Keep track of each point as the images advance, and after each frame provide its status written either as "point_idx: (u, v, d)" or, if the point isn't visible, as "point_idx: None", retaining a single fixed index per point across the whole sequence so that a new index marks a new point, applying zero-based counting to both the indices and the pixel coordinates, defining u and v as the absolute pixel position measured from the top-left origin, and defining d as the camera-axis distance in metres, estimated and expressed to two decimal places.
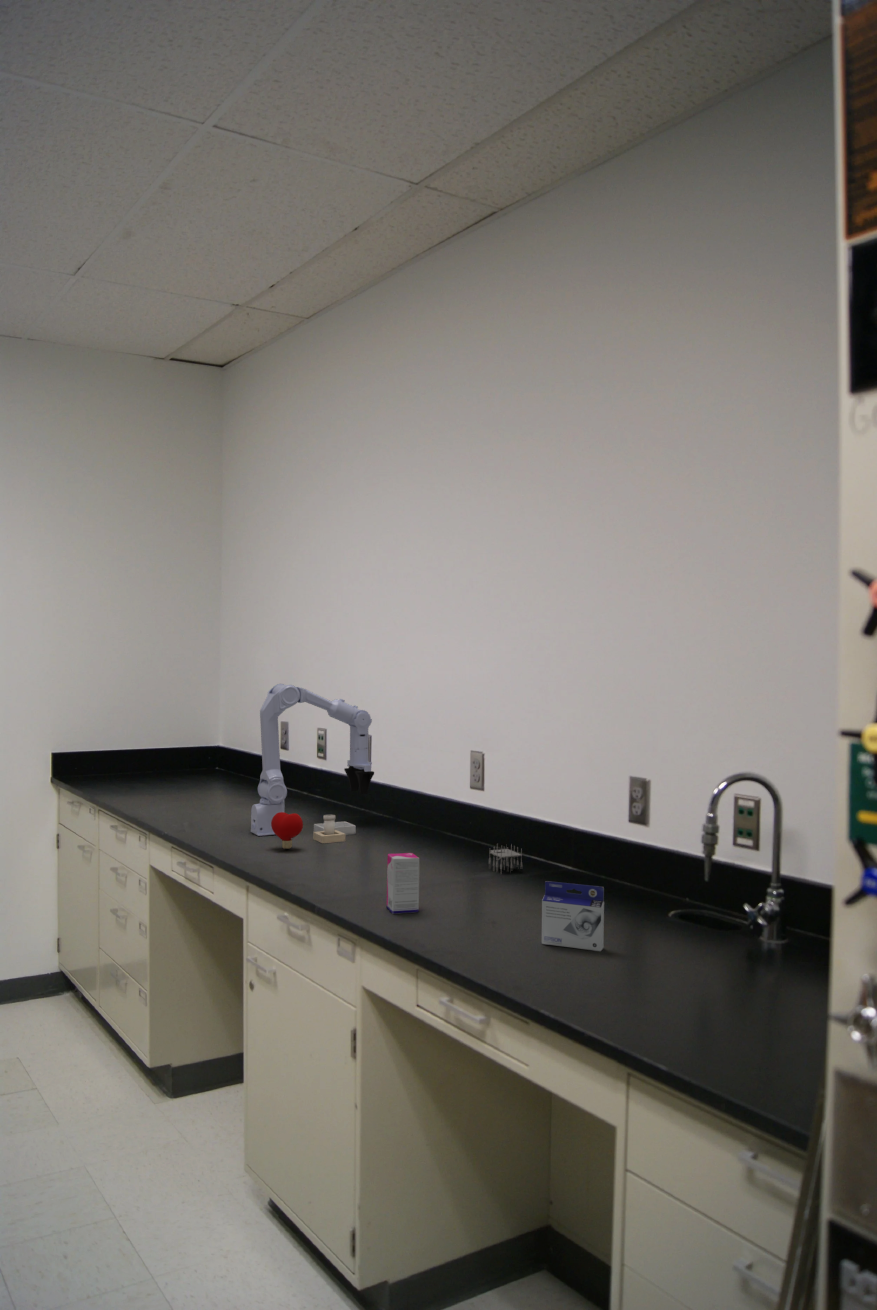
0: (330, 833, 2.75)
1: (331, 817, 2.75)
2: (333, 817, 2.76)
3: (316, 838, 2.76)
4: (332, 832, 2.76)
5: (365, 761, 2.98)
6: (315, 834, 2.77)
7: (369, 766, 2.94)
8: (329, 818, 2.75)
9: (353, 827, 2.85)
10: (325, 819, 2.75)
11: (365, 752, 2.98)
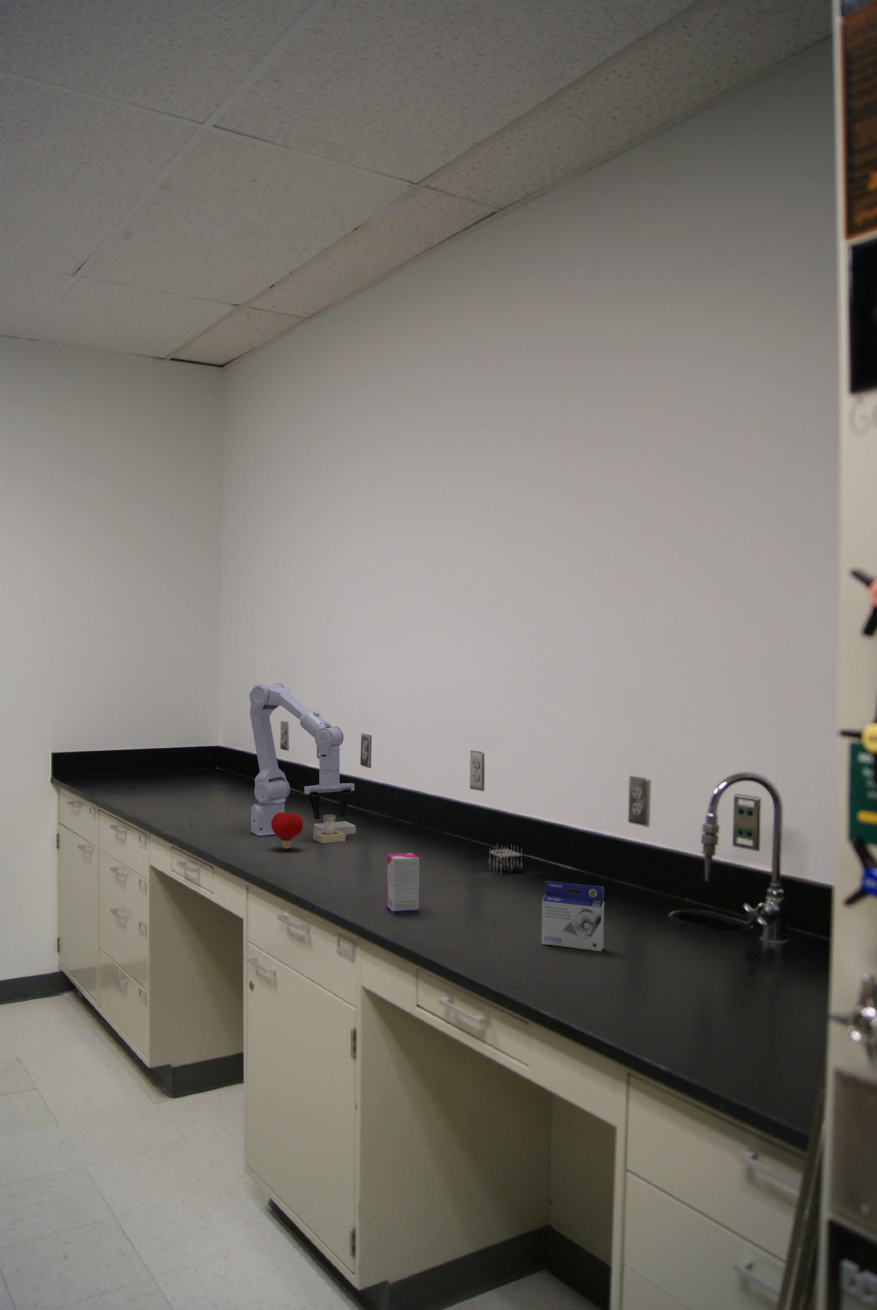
0: (330, 833, 2.75)
1: (331, 817, 2.75)
2: (333, 817, 2.76)
3: (316, 838, 2.76)
4: (332, 832, 2.76)
5: (322, 784, 2.74)
6: (315, 834, 2.77)
7: (305, 788, 2.73)
8: (329, 818, 2.75)
9: (353, 827, 2.85)
10: (325, 819, 2.75)
11: (322, 774, 2.74)
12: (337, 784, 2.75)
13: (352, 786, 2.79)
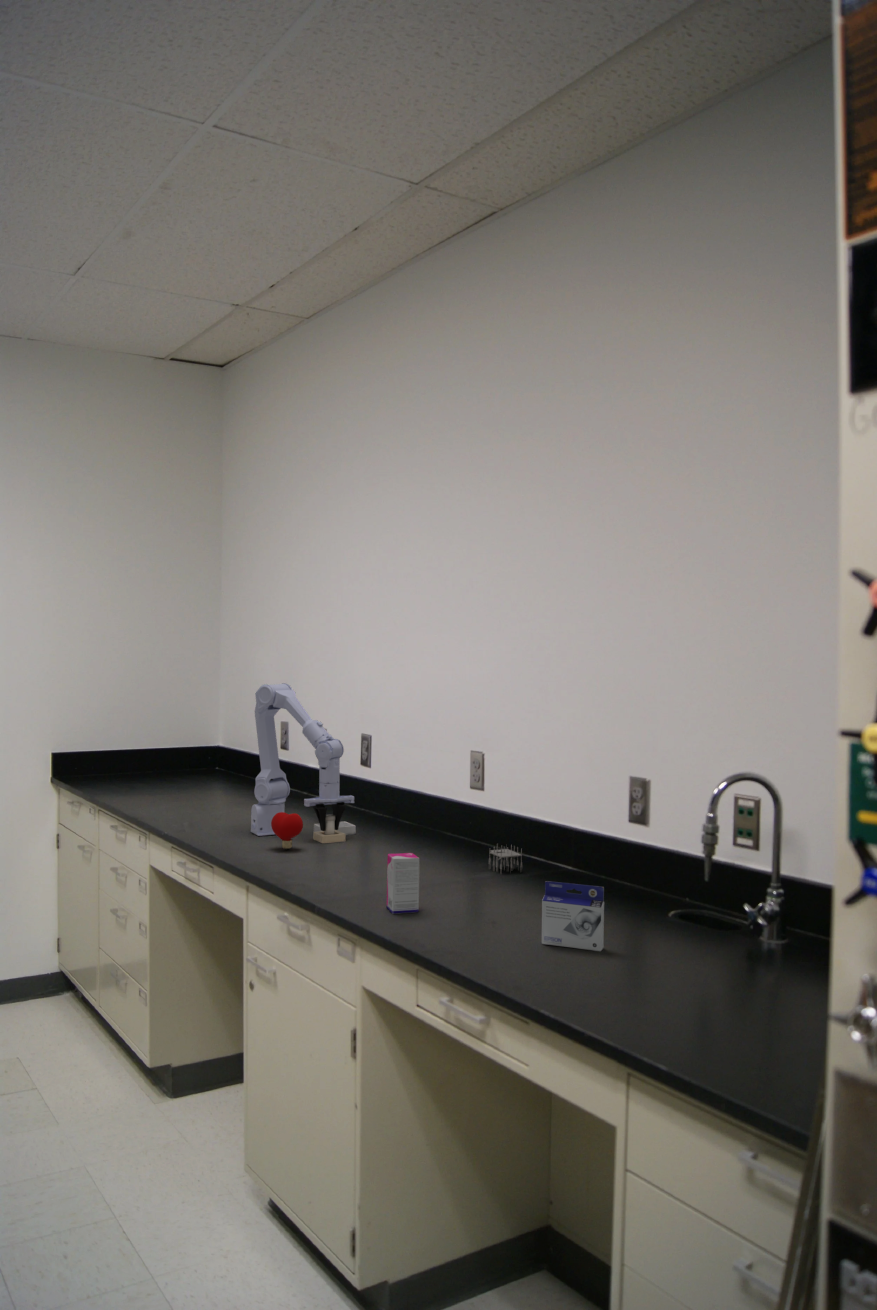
0: (330, 833, 2.75)
1: (331, 817, 2.75)
2: (333, 817, 2.76)
3: (316, 838, 2.76)
4: (332, 832, 2.76)
5: (322, 796, 2.74)
6: (315, 834, 2.77)
7: (305, 801, 2.73)
8: (329, 818, 2.75)
9: (353, 827, 2.85)
10: None
11: (322, 787, 2.74)
12: (337, 797, 2.75)
13: (352, 798, 2.79)
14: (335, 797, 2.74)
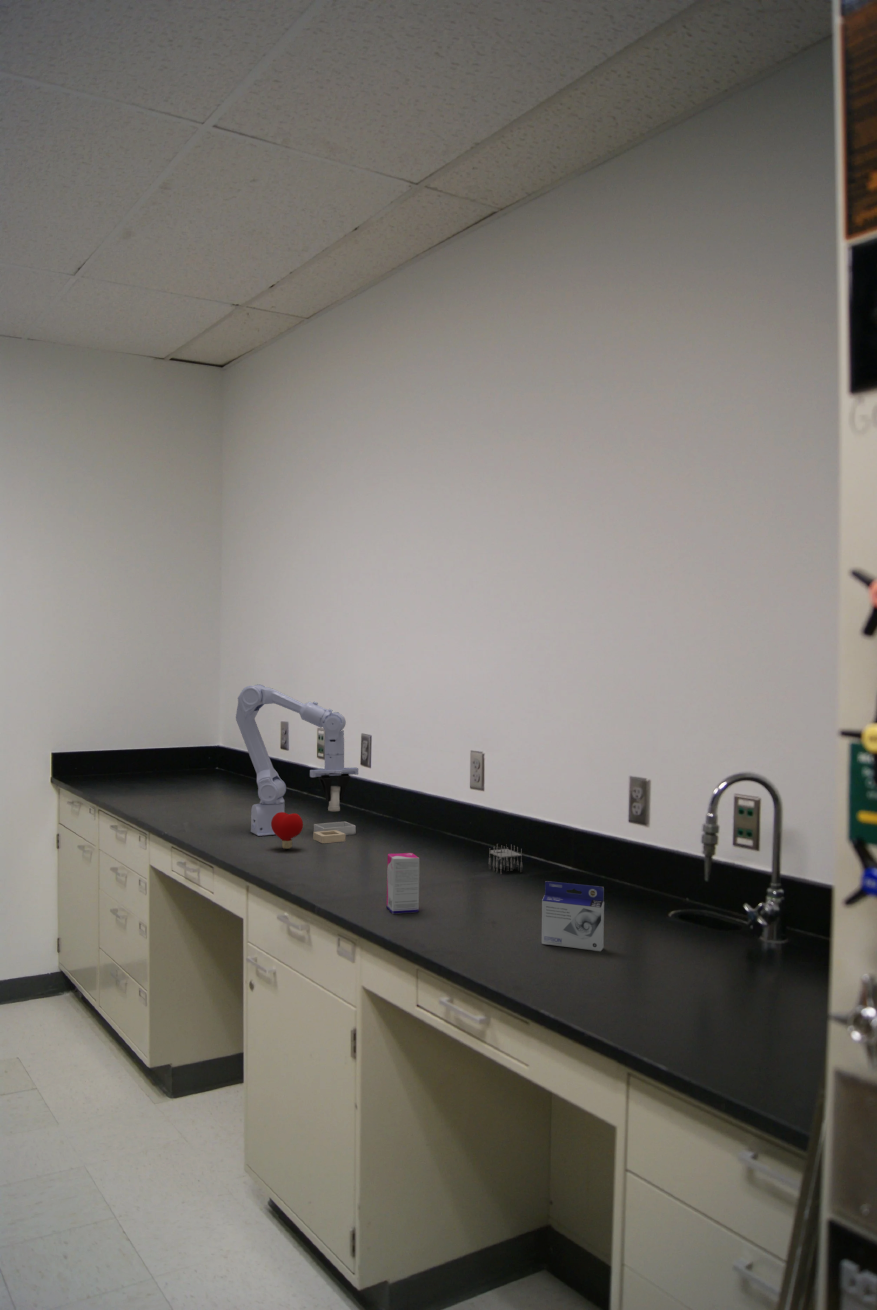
0: (335, 803, 2.84)
1: (336, 788, 2.84)
2: (338, 788, 2.84)
3: (316, 838, 2.76)
4: (337, 802, 2.84)
5: (327, 767, 2.84)
6: (315, 834, 2.77)
7: (311, 772, 2.82)
8: (334, 789, 2.84)
9: (353, 827, 2.85)
10: None
11: (327, 758, 2.84)
12: (342, 768, 2.84)
13: (356, 770, 2.88)
14: (340, 768, 2.84)
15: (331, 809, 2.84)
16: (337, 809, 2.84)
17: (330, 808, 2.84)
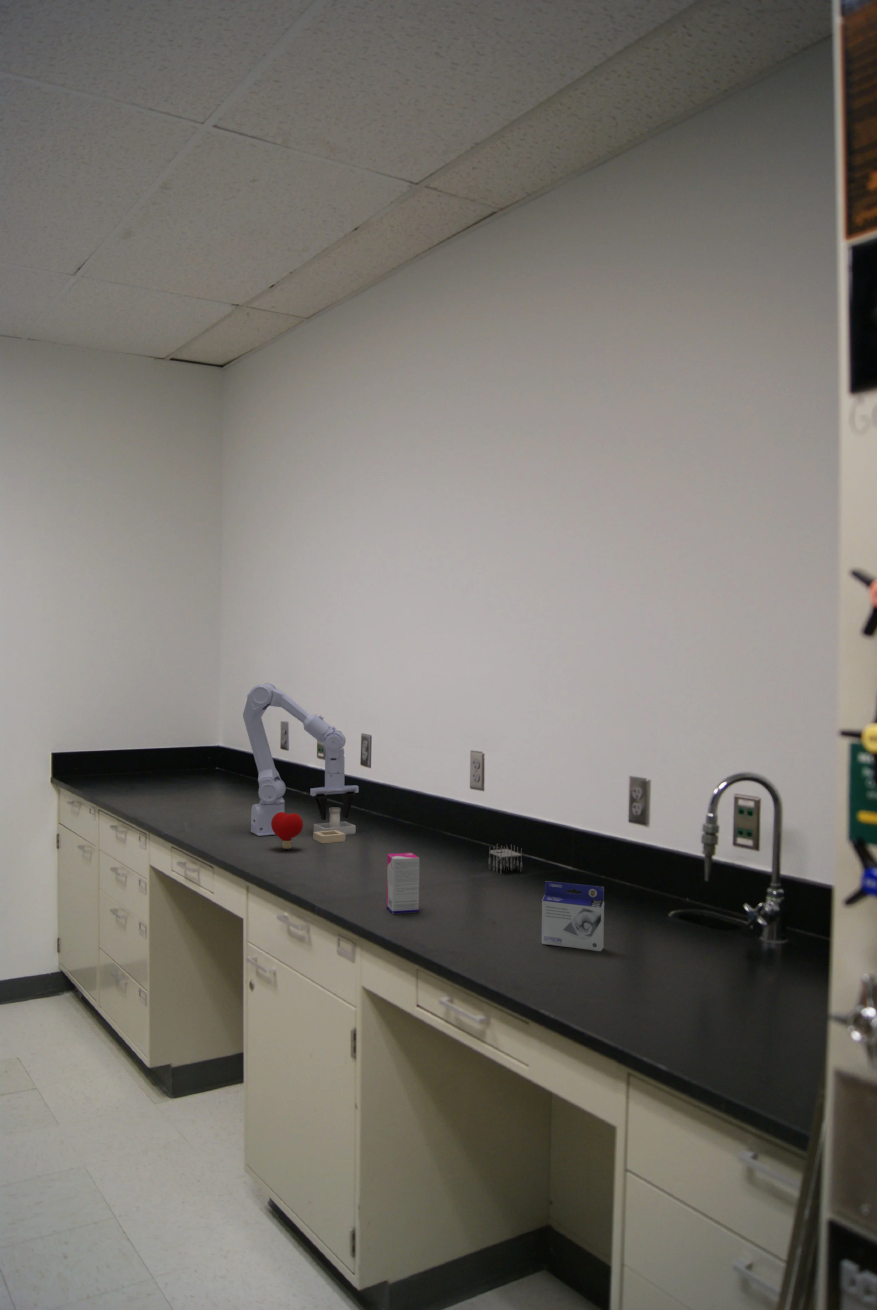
0: (335, 825, 2.85)
1: (336, 809, 2.85)
2: (338, 810, 2.85)
3: (316, 838, 2.76)
4: (337, 824, 2.85)
5: (327, 786, 2.84)
6: (315, 834, 2.77)
7: (312, 790, 2.83)
8: (334, 810, 2.84)
9: (353, 827, 2.85)
10: (330, 811, 2.85)
11: (327, 776, 2.84)
12: (342, 786, 2.85)
13: (356, 788, 2.89)
14: (340, 787, 2.84)
15: None
16: None
17: None
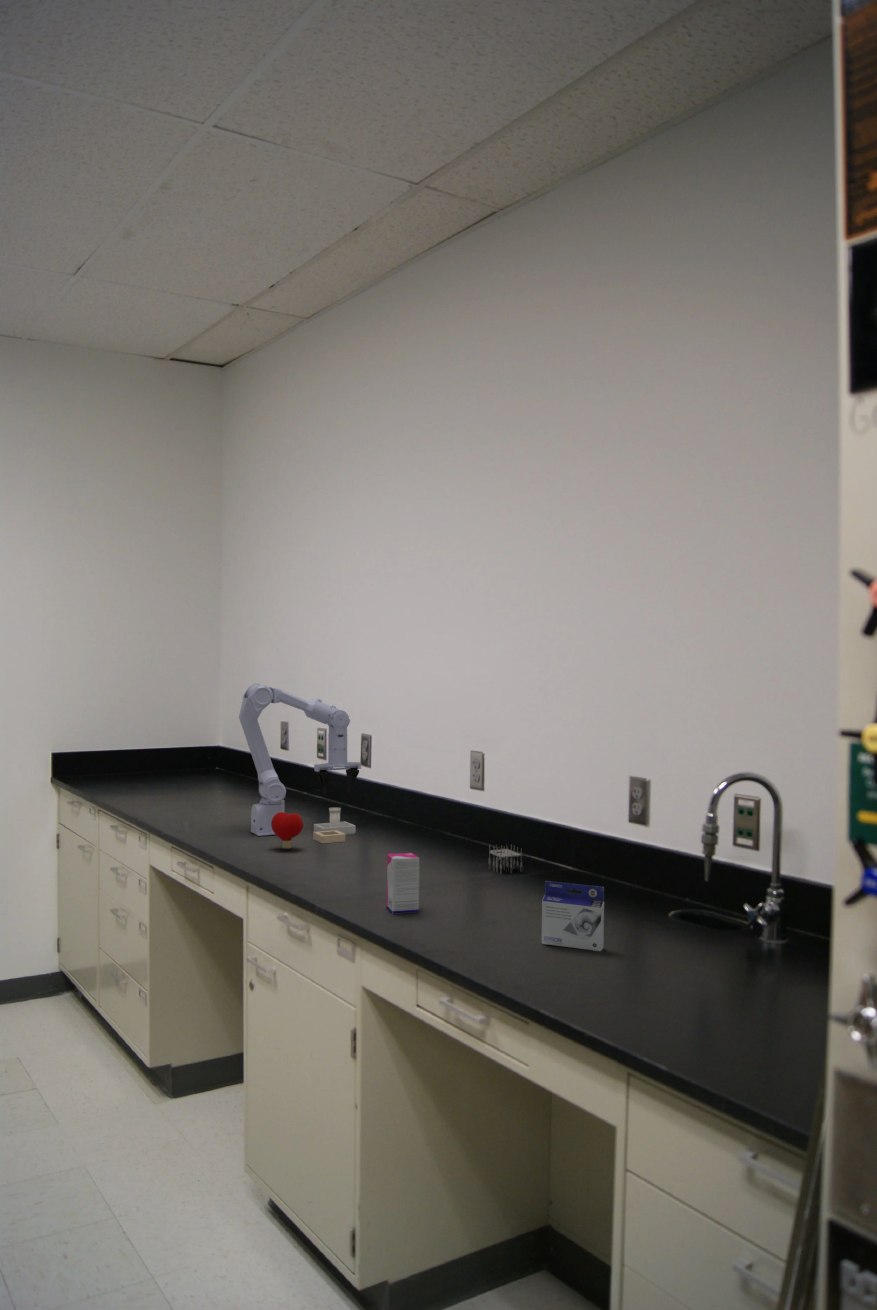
0: (335, 825, 2.85)
1: (336, 809, 2.85)
2: (338, 809, 2.85)
3: (316, 838, 2.76)
4: (337, 824, 2.85)
5: (330, 762, 2.93)
6: (315, 834, 2.77)
7: (315, 766, 2.91)
8: (334, 810, 2.84)
9: (353, 827, 2.85)
10: (330, 811, 2.85)
11: (330, 753, 2.93)
12: (345, 762, 2.93)
13: (359, 765, 2.97)
14: (343, 763, 2.93)
15: None
16: None
17: None
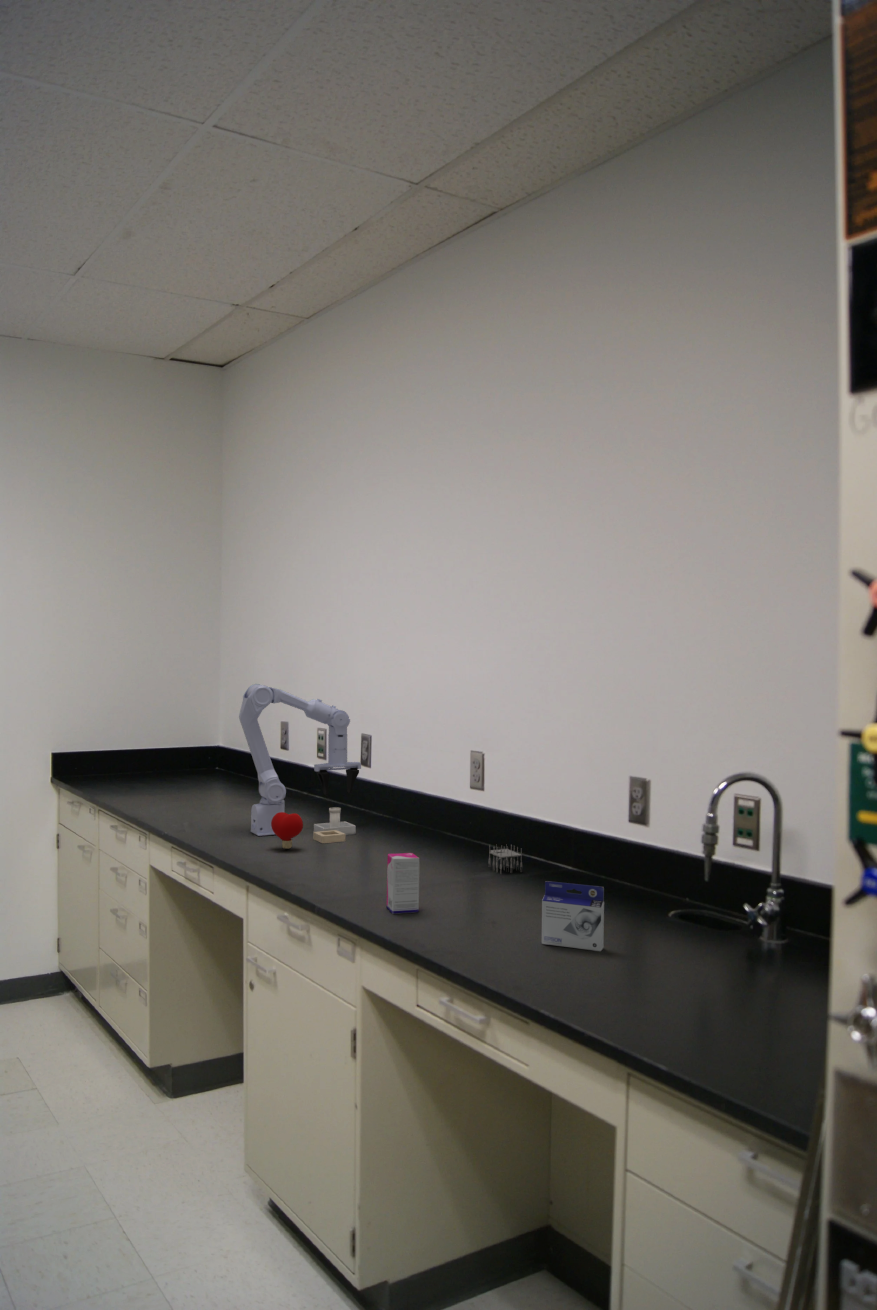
0: (335, 825, 2.85)
1: (336, 809, 2.85)
2: (338, 810, 2.85)
3: (316, 838, 2.76)
4: (337, 824, 2.85)
5: (330, 762, 2.93)
6: (315, 834, 2.77)
7: (315, 766, 2.91)
8: (334, 810, 2.84)
9: (353, 827, 2.85)
10: (330, 811, 2.85)
11: (330, 753, 2.93)
12: (345, 762, 2.93)
13: (359, 765, 2.97)
14: (343, 763, 2.93)
15: None
16: None
17: None
